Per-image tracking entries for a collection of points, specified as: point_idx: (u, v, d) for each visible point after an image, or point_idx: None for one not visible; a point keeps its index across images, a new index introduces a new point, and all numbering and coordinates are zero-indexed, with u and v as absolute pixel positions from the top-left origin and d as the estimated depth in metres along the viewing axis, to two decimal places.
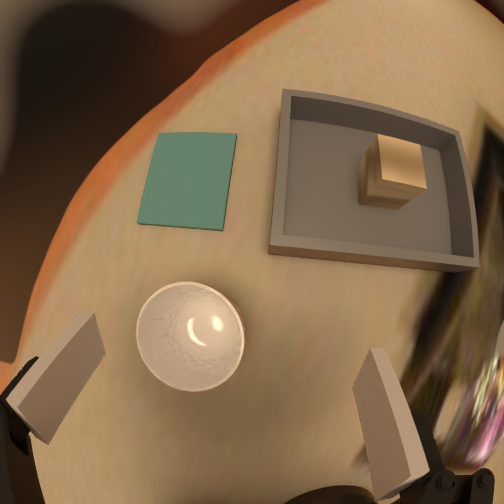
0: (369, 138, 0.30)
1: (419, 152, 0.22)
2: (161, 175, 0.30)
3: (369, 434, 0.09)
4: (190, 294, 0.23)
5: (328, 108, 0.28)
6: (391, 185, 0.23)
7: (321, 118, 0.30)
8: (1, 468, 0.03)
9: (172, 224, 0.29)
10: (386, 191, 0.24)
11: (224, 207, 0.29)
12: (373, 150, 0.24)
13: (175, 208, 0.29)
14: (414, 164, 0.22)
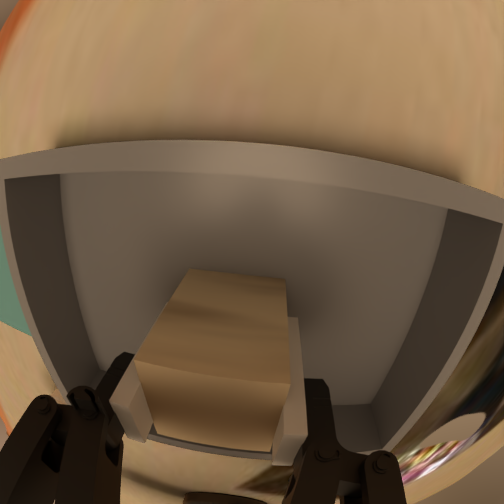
0: (233, 188, 0.13)
1: (277, 402, 0.08)
2: None
3: None
4: None
5: None
6: None
7: None
8: (85, 484, 0.04)
9: (13, 326, 0.19)
10: None
11: None
12: None
13: (7, 311, 0.18)
14: (246, 423, 0.09)
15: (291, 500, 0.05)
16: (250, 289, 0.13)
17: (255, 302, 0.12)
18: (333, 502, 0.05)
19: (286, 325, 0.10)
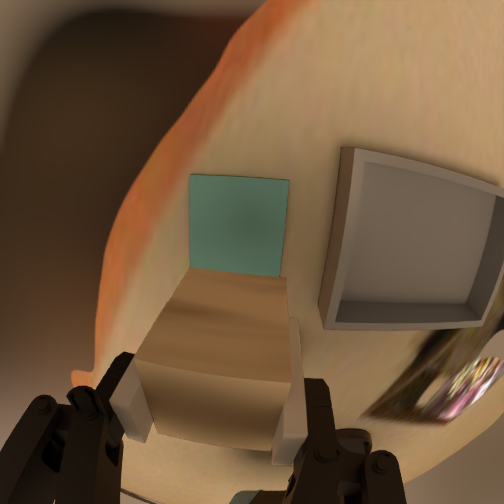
0: (434, 186, 0.25)
1: (278, 401, 0.08)
2: (206, 233, 0.29)
3: None
4: None
5: None
6: None
7: None
8: (85, 484, 0.04)
9: None
10: None
11: (279, 269, 0.30)
12: None
13: (229, 269, 0.30)
14: (247, 423, 0.09)
15: (291, 500, 0.05)
16: (251, 288, 0.13)
17: (256, 301, 0.12)
18: (333, 503, 0.05)
19: (287, 324, 0.10)
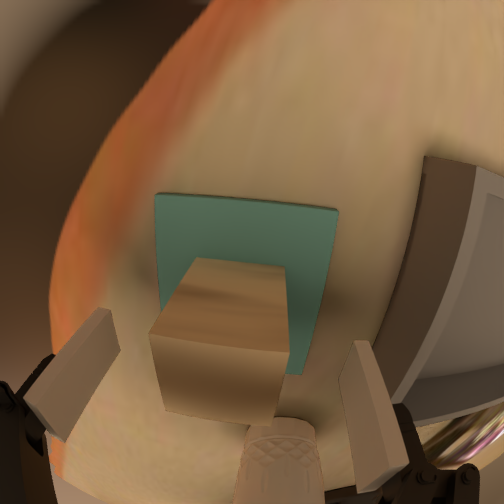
0: None
1: (278, 371, 0.09)
2: None
3: (353, 426, 0.09)
4: None
5: None
6: None
7: None
8: (15, 469, 0.03)
9: None
10: None
11: (307, 350, 0.18)
12: None
13: None
14: (250, 395, 0.10)
15: None
16: (252, 274, 0.14)
17: (257, 286, 0.13)
18: None
19: (285, 304, 0.12)
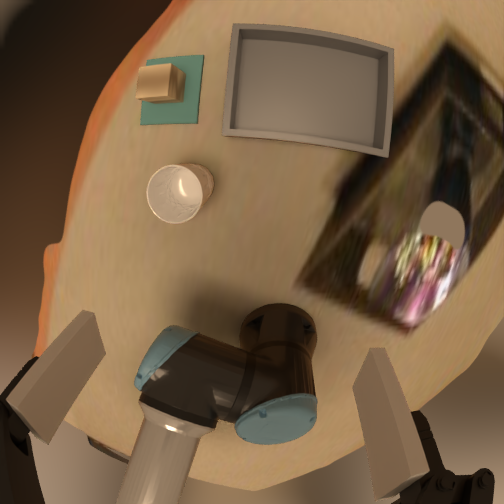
0: (309, 50, 0.33)
1: (168, 69, 0.30)
2: None
3: (369, 434, 0.09)
4: (176, 168, 0.38)
5: (270, 33, 0.30)
6: (146, 98, 0.32)
7: (268, 38, 0.32)
8: (1, 468, 0.03)
9: (164, 123, 0.39)
10: (152, 99, 0.34)
11: (197, 108, 0.38)
12: None
13: (165, 112, 0.39)
14: (161, 80, 0.31)
15: None
16: None
17: None
18: None
19: (177, 68, 0.32)
